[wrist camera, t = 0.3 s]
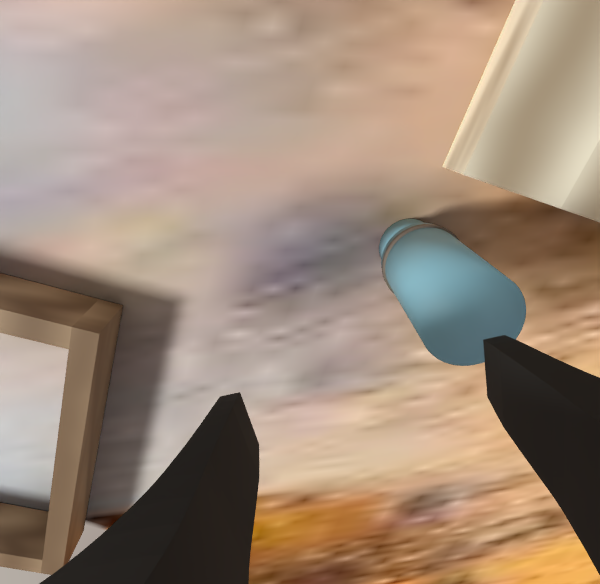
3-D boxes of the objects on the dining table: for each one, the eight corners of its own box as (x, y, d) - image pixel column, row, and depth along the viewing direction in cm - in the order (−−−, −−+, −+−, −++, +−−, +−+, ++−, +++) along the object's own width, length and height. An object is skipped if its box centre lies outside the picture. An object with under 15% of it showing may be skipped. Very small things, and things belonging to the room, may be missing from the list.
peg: (455, 223, 20) (549, 287, 13) (424, 287, 22) (495, 378, 14) (387, 201, 20) (447, 254, 13) (360, 268, 21) (400, 352, 14)
